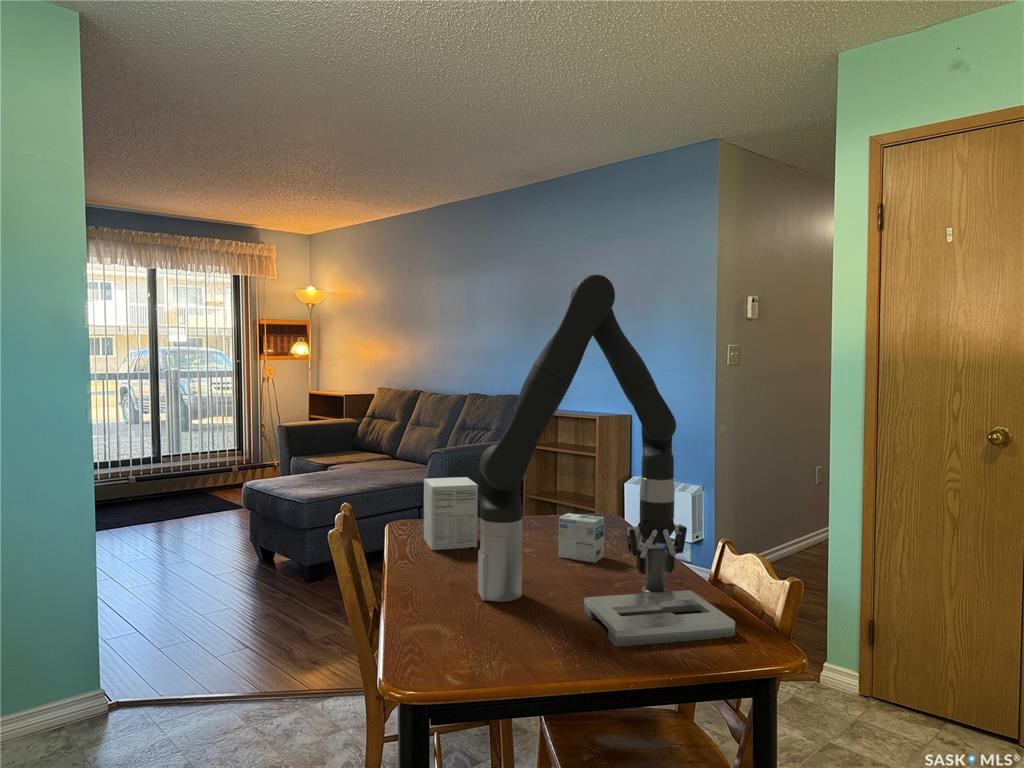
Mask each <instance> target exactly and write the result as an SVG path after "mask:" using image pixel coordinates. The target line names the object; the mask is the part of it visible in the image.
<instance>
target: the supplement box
mask: <svg viewBox="0 0 1024 768" xmlns="http://www.w3.org/2000/svg"><path fill="white" fill-rule="evenodd" d="M478 490H479V484H477V483H476V482H475V481H473V480H472V479H470V478H469V477H467V476H464V477H462V476H461V477H460V476H459V477H436V478H435V477H433V478H423V539H424V541H425V542H426V544H427V545H428V548H430V551H438V550H439V551H441V550H454V549H456V550H458V549H470V547H475V548H478V504H479V503H478V501H479V499H478V498H479V494H478V493H479V491H478ZM457 548H458V549H457Z"/></svg>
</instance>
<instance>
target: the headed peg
mask: <svg viewBox="0 0 1024 768" xmlns="http://www.w3.org/2000/svg"><path fill="white" fill-rule="evenodd" d="M665 554H666V550H665V547H664V546H661V545H660V546H659V545H651V547H650V549H648V551H647V553H646V573H645V580H646V581H645V585H644V586H642V587H641V592H640V594H643V593H657V592H670V590H669V588H667V587H665V583H666V581H665V580H666V579H665V575H666V570H665Z"/></svg>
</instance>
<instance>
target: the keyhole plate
mask: <svg viewBox="0 0 1024 768" xmlns="http://www.w3.org/2000/svg"><path fill="white" fill-rule="evenodd" d="M583 602H584V604H583V605H584V607H583V611H584V613H585V614H586V615H587V617H588V618H589V619H593V620H594V619H595V620H596V619H598V620H599V621H601V623H602V624H603V625H604V626H605V627H606V628H607V630H608V634H607V635H608V637H607V638H608V640H609V641H610V642H611V643H612V644H613V645H614V646H615V647H616V648H619V647H631V646H632V647H633V646H642V645H643V646H644V645H654V644H655V645H656V644H666V643H677V642H678V641H680V642H691V641H700V640H712V639H714V640H715V639H723V638H722V637H726V638H733V637H732V636H736V621H735V620H734V619H733V618H732V617H730V616H728V615H727V614H726V613H724V612H723V611H721V610H720V609H719V608H717V607H716V606H715V605H713V604H712V603H710V602H708V601H707V600H706V599H704V598H703V597H701V596H700V595H699V594H697V593H696V592H694V591H693V590H690V589H689V590H688V589H686V590H674V591H669V592H657V593H643V594H641V593H630V594H615V595H602V596H599V595H598V596H588V597H585V596H584V601H583ZM698 610H699V611H700V612H699V613H698V612H697V611H698ZM685 611H687V612H697V613H686V612H685ZM672 612H674V613H672ZM684 612H685V613H684ZM659 613H661V614H659ZM675 613H682V614H675ZM683 613H684V614H683ZM678 643H679V642H678Z"/></svg>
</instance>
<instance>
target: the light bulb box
mask: <svg viewBox="0 0 1024 768" xmlns="http://www.w3.org/2000/svg"><path fill="white" fill-rule="evenodd" d="M557 538H558V543H557V544H558V545H557V547H558V549H557V550H558V552H557V553H558V555H557V557H558V558H562V559H568V558H569V560H575V561H581V562H589V563H594V564H595V563H596V562H598V561H600V560H601V559H602V558H604V557H605V517H603V516H595V515H587V514H576V513H570V512H568V513H565V514H563V515H561V516H559V517H558V537H557Z"/></svg>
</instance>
